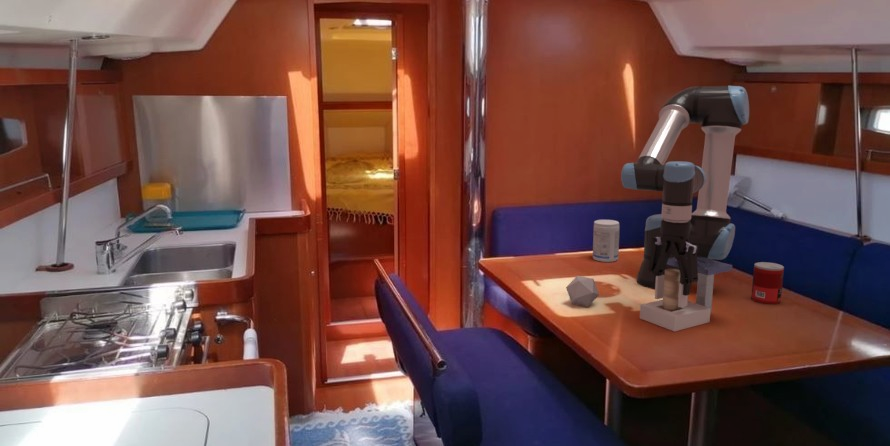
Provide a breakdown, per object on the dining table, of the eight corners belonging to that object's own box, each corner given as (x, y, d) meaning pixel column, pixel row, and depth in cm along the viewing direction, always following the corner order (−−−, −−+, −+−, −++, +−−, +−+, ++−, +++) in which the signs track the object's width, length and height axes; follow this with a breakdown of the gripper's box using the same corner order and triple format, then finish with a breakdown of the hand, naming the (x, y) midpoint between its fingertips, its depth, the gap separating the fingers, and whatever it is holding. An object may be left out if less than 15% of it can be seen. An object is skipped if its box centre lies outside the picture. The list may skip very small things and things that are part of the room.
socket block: (639, 318, 178) (640, 304, 177) (674, 309, 184) (675, 296, 184) (674, 331, 167) (675, 317, 167) (709, 322, 174) (710, 308, 174)
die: (603, 305, 191) (591, 274, 195) (601, 299, 183) (589, 267, 187) (575, 314, 193) (565, 283, 196) (572, 308, 184) (561, 276, 188)
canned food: (784, 305, 188) (787, 269, 186) (754, 303, 190) (758, 267, 188) (776, 297, 196) (779, 262, 194) (748, 295, 197) (751, 261, 195)
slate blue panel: (663, 310, 184) (666, 258, 181) (686, 305, 188) (690, 254, 186) (704, 325, 172) (708, 270, 169) (728, 319, 177) (732, 265, 174)
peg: (668, 316, 178) (671, 267, 175) (680, 320, 174) (683, 271, 171) (658, 318, 176) (661, 269, 173) (670, 323, 172) (673, 273, 170)
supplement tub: (608, 255, 249) (610, 218, 246) (623, 261, 240) (625, 223, 237) (587, 257, 245) (588, 220, 242) (601, 263, 237) (603, 224, 234)
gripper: (637, 215, 176) (632, 294, 181) (698, 227, 159) (691, 314, 163) (656, 212, 180) (651, 290, 184) (717, 224, 163) (711, 310, 167)
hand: (670, 301), depth 174 cm, fingers open, 7 cm apart
